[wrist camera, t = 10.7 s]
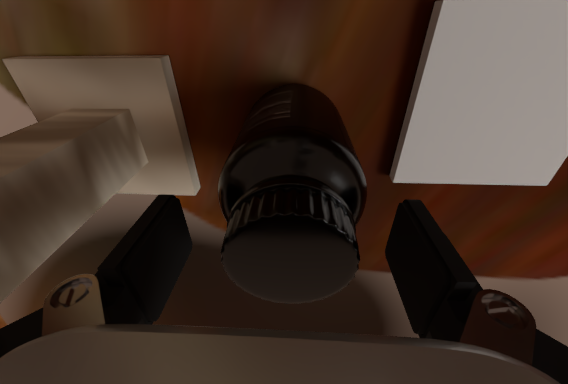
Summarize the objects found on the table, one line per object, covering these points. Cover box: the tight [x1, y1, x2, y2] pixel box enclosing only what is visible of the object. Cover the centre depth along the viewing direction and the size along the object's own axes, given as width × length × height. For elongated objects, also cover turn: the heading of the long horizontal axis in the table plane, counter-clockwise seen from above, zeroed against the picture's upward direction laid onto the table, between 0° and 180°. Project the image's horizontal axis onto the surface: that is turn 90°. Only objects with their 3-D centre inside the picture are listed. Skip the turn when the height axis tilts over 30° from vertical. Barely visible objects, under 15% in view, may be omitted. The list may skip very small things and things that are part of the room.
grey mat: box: [389, 0, 568, 186], centre depth 16 cm, size 11×11×1 cm
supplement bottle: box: [218, 84, 367, 304], centre depth 13 cm, size 7×7×12 cm
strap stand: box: [0, 55, 200, 303], centre depth 13 cm, size 10×10×14 cm
